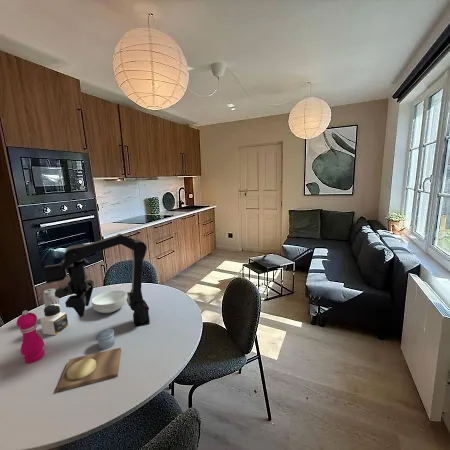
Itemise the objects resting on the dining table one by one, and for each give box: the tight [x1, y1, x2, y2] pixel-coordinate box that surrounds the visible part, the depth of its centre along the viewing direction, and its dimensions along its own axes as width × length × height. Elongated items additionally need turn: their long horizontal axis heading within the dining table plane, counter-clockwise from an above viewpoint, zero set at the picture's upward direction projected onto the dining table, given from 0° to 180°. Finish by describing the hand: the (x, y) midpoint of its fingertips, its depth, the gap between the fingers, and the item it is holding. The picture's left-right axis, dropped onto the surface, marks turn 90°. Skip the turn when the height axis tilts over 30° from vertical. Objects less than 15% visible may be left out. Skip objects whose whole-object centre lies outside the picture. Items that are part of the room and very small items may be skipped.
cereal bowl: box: [91, 289, 127, 314], centre depth 130 cm, size 17×17×7 cm
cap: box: [96, 328, 116, 351], centre depth 102 cm, size 6×6×5 cm
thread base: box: [56, 347, 122, 392], centre depth 89 cm, size 18×14×2 cm
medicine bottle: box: [40, 304, 69, 336], centre depth 113 cm, size 7×7×12 cm
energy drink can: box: [42, 288, 62, 310], centre depth 122 cm, size 6×6×15 cm
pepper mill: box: [16, 310, 46, 364], centre depth 94 cm, size 7×7×20 cm
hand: (84, 311), depth 104 cm, fingers open, 9 cm apart
